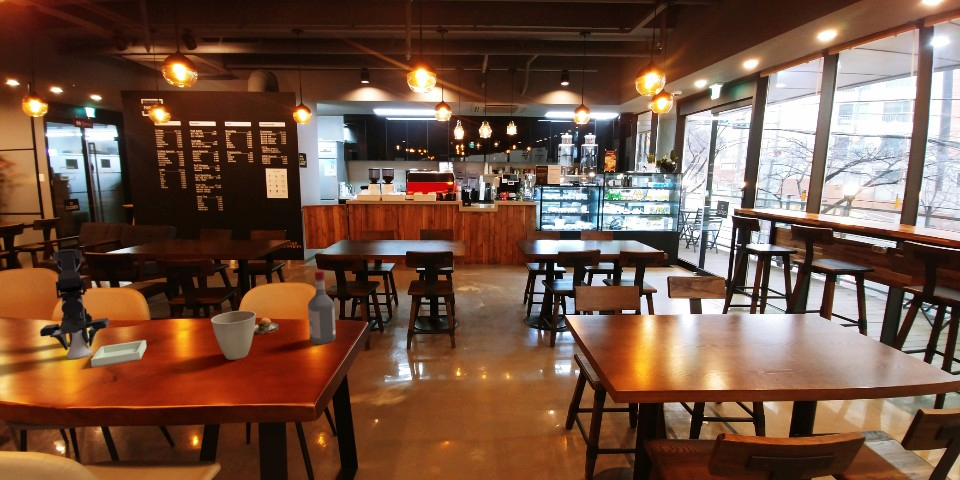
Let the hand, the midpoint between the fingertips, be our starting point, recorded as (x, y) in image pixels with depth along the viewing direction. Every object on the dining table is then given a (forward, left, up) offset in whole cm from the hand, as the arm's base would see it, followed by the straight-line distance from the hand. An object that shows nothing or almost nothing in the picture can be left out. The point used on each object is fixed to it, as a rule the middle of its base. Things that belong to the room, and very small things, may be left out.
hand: (78, 348), depth 166 cm
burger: (+3, +64, -4) cm, 64 cm away
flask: (0, 0, -3) cm, 3 cm away
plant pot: (+30, +53, -3) cm, 61 cm away
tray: (+9, +14, -3) cm, 17 cm away
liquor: (+29, +85, -3) cm, 90 cm away
